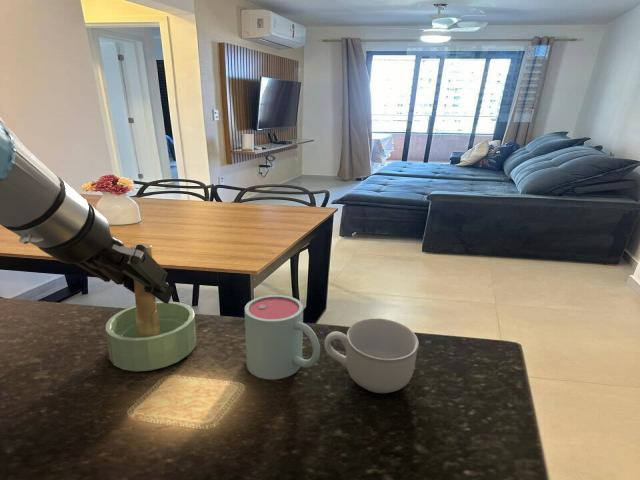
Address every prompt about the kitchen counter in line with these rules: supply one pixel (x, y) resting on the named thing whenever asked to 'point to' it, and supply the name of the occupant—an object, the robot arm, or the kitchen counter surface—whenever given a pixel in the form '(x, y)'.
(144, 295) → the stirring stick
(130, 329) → the bowl
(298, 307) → the mug
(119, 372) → the kitchen counter surface
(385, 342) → the teacup
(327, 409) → the kitchen counter surface
